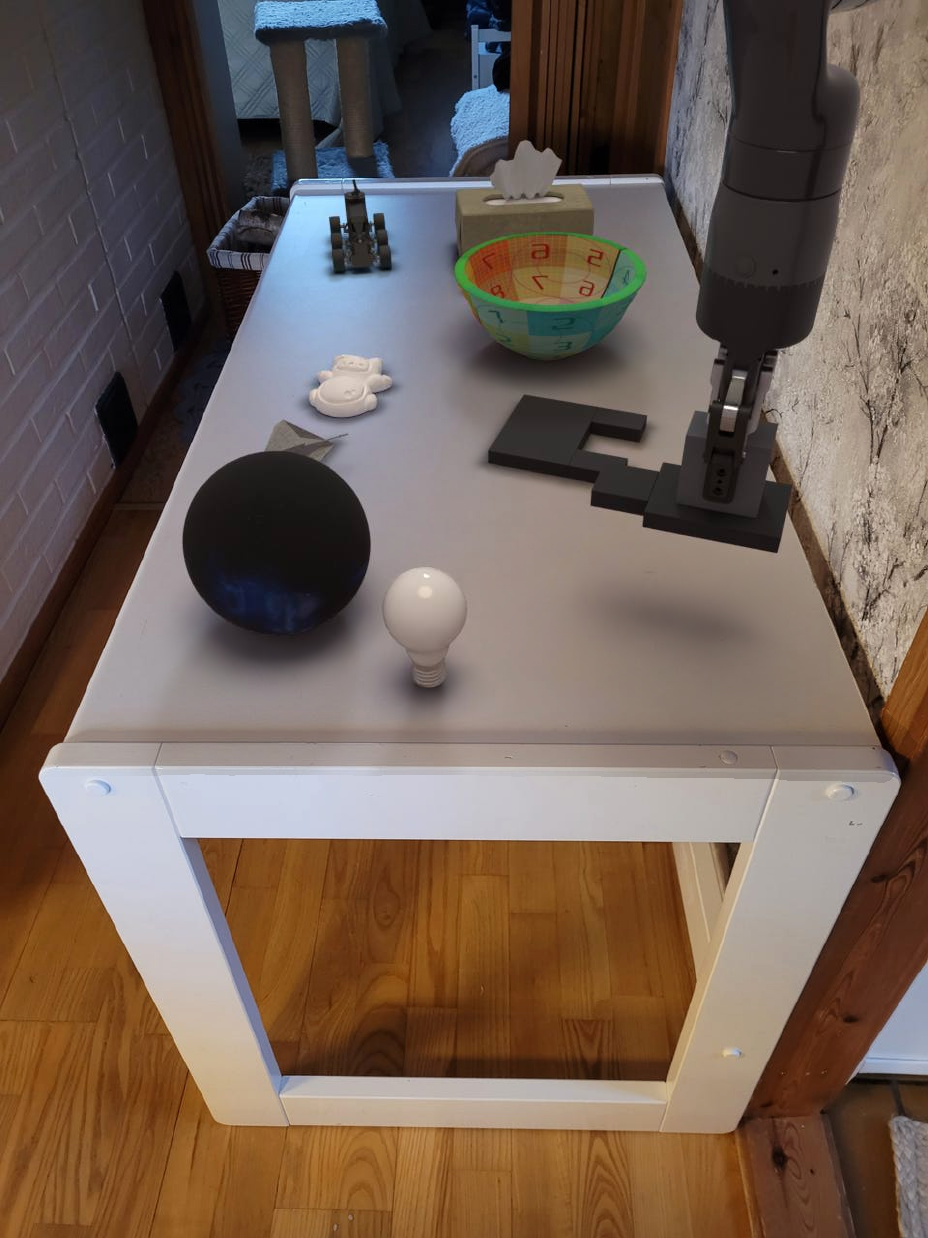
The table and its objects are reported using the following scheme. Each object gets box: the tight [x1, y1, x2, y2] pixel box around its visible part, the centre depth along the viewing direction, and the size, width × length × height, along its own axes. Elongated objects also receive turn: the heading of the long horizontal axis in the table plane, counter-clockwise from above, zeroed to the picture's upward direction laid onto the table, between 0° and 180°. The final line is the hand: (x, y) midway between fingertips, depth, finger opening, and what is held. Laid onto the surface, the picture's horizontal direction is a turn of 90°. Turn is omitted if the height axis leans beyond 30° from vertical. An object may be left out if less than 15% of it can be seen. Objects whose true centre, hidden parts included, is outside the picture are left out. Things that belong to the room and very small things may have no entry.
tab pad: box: [590, 410, 793, 554], centre depth 71 cm, size 14×7×8 cm, turn 70°
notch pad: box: [487, 393, 648, 484], centre depth 101 cm, size 14×12×2 cm
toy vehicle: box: [328, 178, 393, 273], centre depth 137 cm, size 8×15×9 cm, turn 8°
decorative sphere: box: [181, 451, 372, 636], centre depth 78 cm, size 15×15×15 cm
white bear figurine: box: [308, 353, 393, 418], centre depth 110 cm, size 9×12×3 cm
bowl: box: [453, 232, 648, 361], centre depth 114 cm, size 22×22×10 cm
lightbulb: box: [381, 566, 468, 688], centre depth 73 cm, size 6×6×11 cm
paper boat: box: [263, 419, 349, 462], centre depth 97 cm, size 12×6×9 cm
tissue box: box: [454, 139, 595, 259], centre depth 133 cm, size 19×10×16 cm, turn 95°
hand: (722, 482), depth 71 cm, fingers closed on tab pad, 3 cm apart
